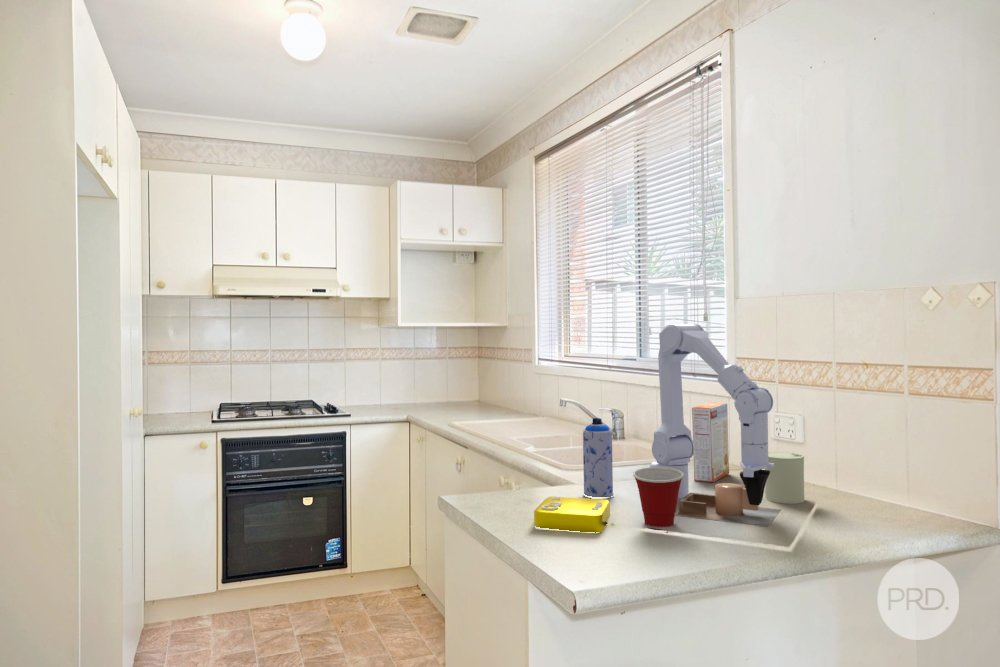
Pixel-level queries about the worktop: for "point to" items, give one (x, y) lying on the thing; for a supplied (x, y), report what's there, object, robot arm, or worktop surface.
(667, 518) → the plastic cup
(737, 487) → the capsule with rectangular tab
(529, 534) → the worktop surface
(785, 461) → the can
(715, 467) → the cracker box
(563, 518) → the element tile
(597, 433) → the aerosol can
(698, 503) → the cradle
